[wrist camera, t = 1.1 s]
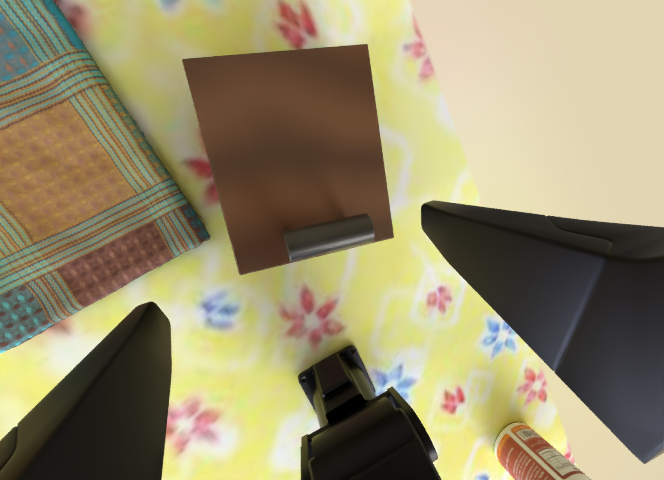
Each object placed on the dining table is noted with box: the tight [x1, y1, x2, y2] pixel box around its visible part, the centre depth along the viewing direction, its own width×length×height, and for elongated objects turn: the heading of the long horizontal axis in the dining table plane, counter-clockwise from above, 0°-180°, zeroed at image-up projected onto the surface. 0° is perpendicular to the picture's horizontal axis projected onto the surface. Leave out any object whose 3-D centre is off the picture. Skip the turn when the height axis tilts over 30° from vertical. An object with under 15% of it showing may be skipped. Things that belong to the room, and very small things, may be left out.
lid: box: [182, 44, 394, 275], centre depth 17 cm, size 13×12×5 cm
